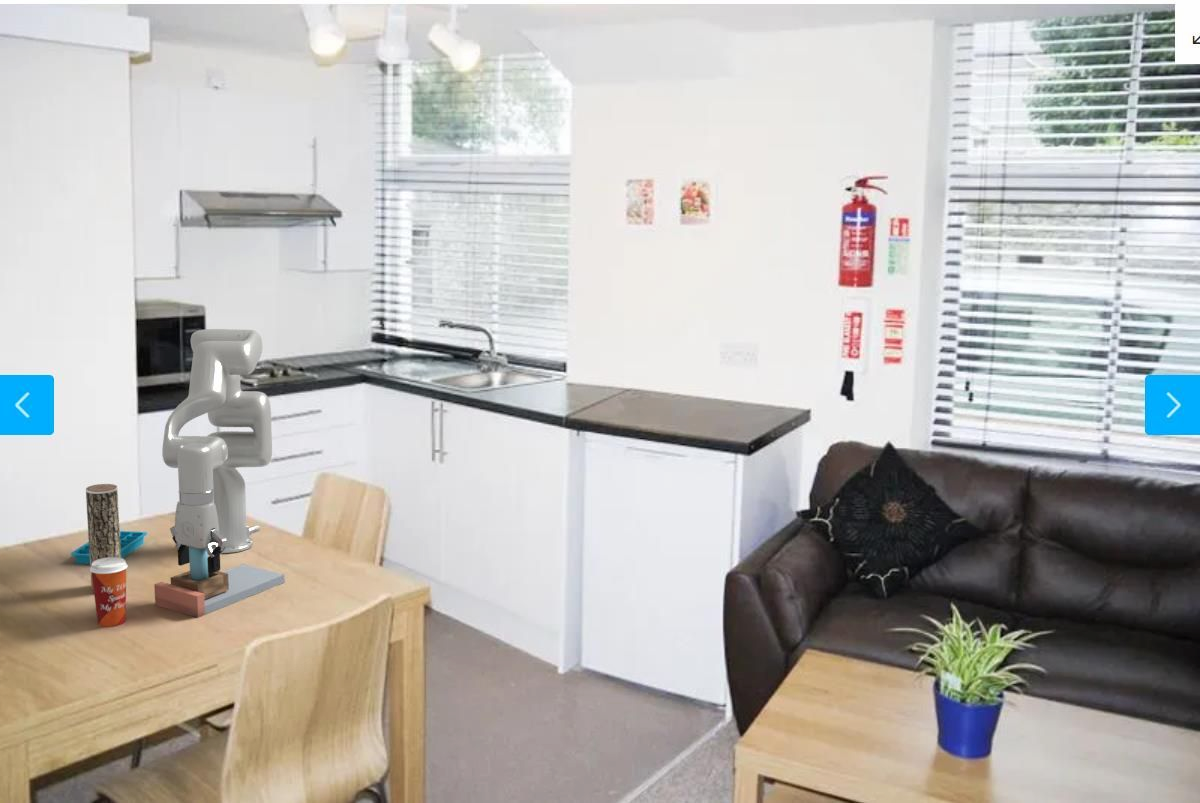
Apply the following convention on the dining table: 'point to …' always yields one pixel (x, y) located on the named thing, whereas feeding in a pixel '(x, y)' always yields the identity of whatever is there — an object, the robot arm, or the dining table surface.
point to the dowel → (198, 564)
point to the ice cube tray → (127, 545)
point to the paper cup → (110, 590)
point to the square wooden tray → (203, 583)
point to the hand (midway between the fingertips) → (199, 567)
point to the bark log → (103, 522)
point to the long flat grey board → (240, 587)
